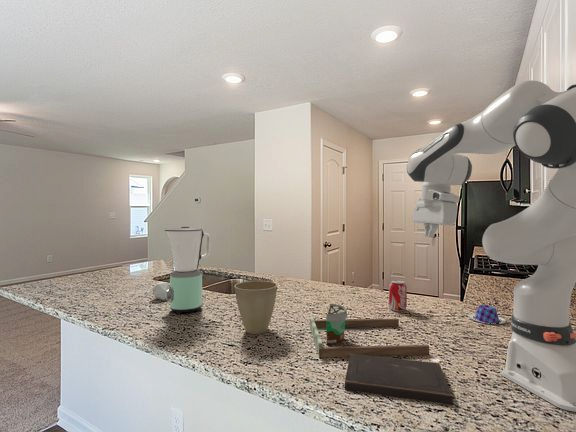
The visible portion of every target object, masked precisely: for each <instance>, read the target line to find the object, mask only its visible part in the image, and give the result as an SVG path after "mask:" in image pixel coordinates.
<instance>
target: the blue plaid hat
mask: <svg viewBox="0 0 576 432" xmlns="http://www.w3.org/2000/svg"><path fill="white" fill-rule="evenodd" d="M473 316H475V319H476V320H475V319H473ZM468 317H469V319H471V320H473V321H476V322H479V323H483V324H488V325H491V324H496V323H497V322H499V324H498V325H502V324H506V323H507V322H506V321H507V320H506V319H504V318H503V317H500V316H499V315H498V311H497V308H496V307H495V306H492V305H487V304H480V305H478V306H477V309H476V313H471V314H469V315H468ZM499 319H501V320H502V321H503V323H500V321H499ZM490 323H491V324H490Z"/></svg>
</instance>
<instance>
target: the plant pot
mask: <svg viewBox="0 0 576 432" xmlns="http://www.w3.org/2000/svg"><path fill="white" fill-rule="evenodd" d="M277 291H278V283H276V282H273V281H271V280H270V281H268V280H249V281H247V280H246V281H242V282H238V283H235V284H234V293H235V298H236V303H237V308H238V311H239V312H238V313H239V315H240V319H241V322H242V324H243V328H244V330H245V332H246V334H247V333H248V334H250V335H261V334H264V333H266V332H267V330H268V328H269V326H270V322H271V320H272V316H273V312H274V309H275V304H276V298H277Z"/></svg>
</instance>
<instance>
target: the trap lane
mask: <svg viewBox="0 0 576 432" xmlns="http://www.w3.org/2000/svg"><path fill="white" fill-rule="evenodd" d="M399 324H400V323H399V318H358V319H355V318H354V319H353V318H352V319H349V318H348V319H347V318H346V319H345V330H344V332H345V331H347V332H348V331H351V332H352V331H374V328H375V327H376V328H377V327H379V328H382V327H383V328H384V327H388V328H389V327H399ZM309 330H310V333H311V336H312V339H313V343H314V345H315V348H316V352H317V356H318V358H349V357H350V354H359V355H368V356H378V357H394V356H397V357H398V356H430V345H429V344H408V345H407V344H405V345H404V344H403V345H401V344H400V345H366V346H365V345H362V346H361V345H360V346H358V345H357V346H355V345H354V346H323V341H322V339H321V335H320V333H319V332H327V321H326V319H314V316H313V315H310V316H309Z"/></svg>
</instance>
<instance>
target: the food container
mask: <svg viewBox="0 0 576 432" xmlns="http://www.w3.org/2000/svg"><path fill="white" fill-rule="evenodd" d="M325 315H326V317H325V318H326V319H325V320H326V321H327V331H326V346H336V345H340V344H342V343H344V341H345V331H344V330H345V319H347V317H348V313H347V308H345V306H342V305H340V304H335V303H330V304H329V309H328V311H327V314H325Z"/></svg>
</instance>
